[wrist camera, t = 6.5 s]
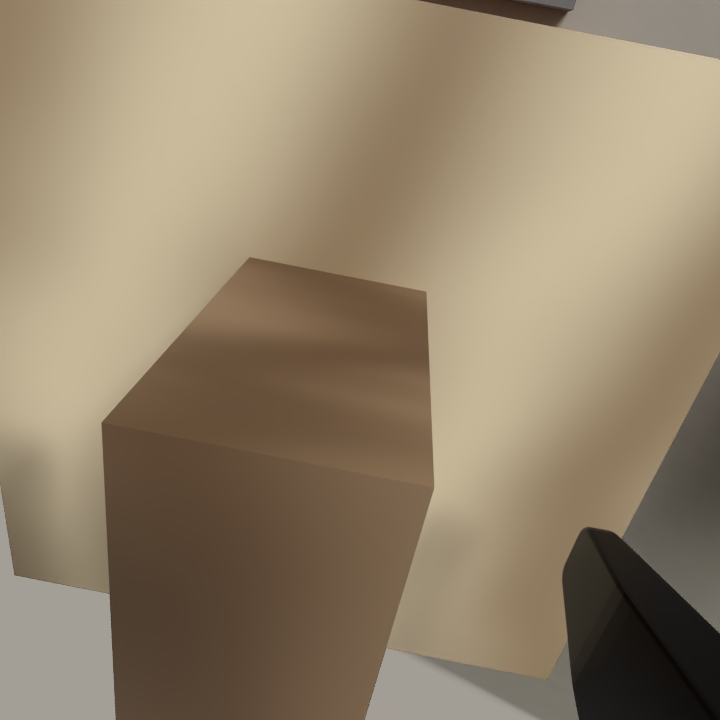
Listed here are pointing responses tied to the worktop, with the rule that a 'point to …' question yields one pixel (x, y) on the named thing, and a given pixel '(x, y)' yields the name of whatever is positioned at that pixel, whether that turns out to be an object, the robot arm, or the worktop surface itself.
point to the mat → (552, 3)
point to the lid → (338, 328)
